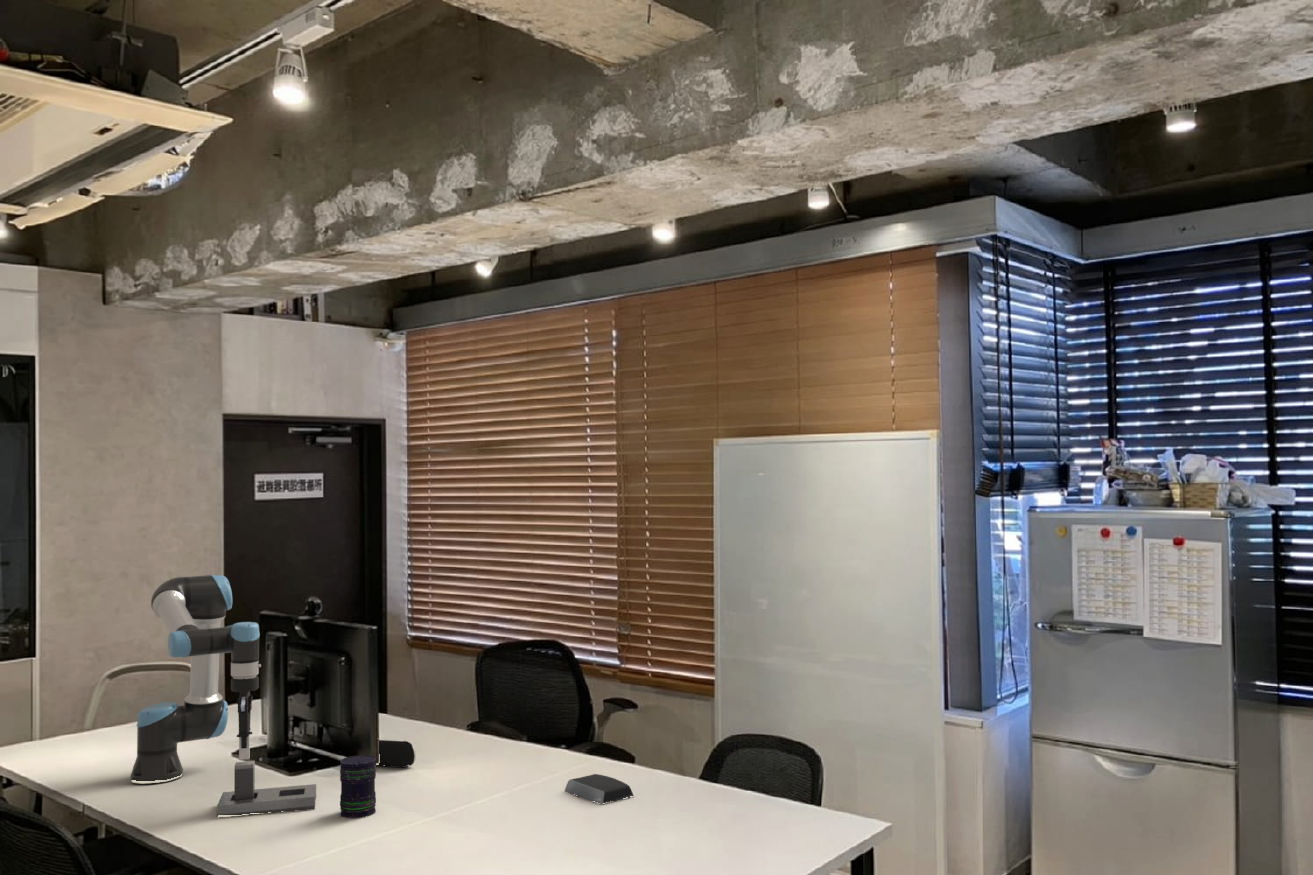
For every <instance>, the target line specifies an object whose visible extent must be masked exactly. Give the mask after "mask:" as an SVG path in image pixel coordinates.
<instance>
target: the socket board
mask: <svg viewBox="0 0 1313 875" xmlns="http://www.w3.org/2000/svg"><path fill="white" fill-rule="evenodd" d="M316 799H317V784H316V783H314V784H312V783H311V784H302V785H291V786H280V787H268V788H255V791H254V799H247V800H236V801H234V790H233V791H223V792H222V794H221V796H220V798H219V801H218V803H217V805H216V809H217V810H216V817H217V816H218V815H242V814H250V813H268V812H280V813H282V812H281V811H290V812H296V811H295V810H301V811H308V810H307V809H312V810H315V808H316V802H317V801H316ZM315 801H316V802H315Z"/></svg>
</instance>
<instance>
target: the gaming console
mask: <svg viewBox="0 0 1313 875" xmlns="http://www.w3.org/2000/svg"><path fill="white" fill-rule="evenodd" d="M378 739H379V754H380V763H379V766H378V767H382V766H381V765H385V766H384V767H388V766H409V767H411V766H413V765H414V763H416V762H415V761H416V759H417V750H416V748H415V745H414V744H413V743H412V742H409V741H407V740H404V739H392V738H391V739H389V738H388V739H387V738H378Z"/></svg>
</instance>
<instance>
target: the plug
mask: <svg viewBox="0 0 1313 875" xmlns="http://www.w3.org/2000/svg"><path fill="white" fill-rule="evenodd" d="M255 766H256V765H255V760H247V761H244V760H243V761H236V762H235V764H234V782H233V783H234V785H233V786H234V790H233V791H234V801H236V800H247V799H254V791H255V789H256V788H255V787H256V786H255V782H256V781H255V780H256V778H255V777H256V776H255V774H256V773H255V772H256V771H255V770H256V769H255Z"/></svg>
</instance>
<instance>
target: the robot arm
mask: <svg viewBox="0 0 1313 875" xmlns="http://www.w3.org/2000/svg"><path fill="white" fill-rule="evenodd" d="M230 584H231V583H230V581H229V579H228V578H227V577H226V576H224V575H220V574H219V575H218V574H217V575H215V574H214V575H213V574H209V575H208V574H207V575H194V576H178V577H173V578H170V579H167V580H166V581H164V582H163V583H161V584H160V585H159V586H157V588H156V589H155V590H154V592H153V593H152V596H151V600H150V606H151V609H152V612H153V613H154V615H155V616H157V617H158V618H159V619H161V621H162V622H163V624H164V626H165V628H166V630H167V632H168V633H169V634H168V637H167V651H168V655H169V656H170V657H171V658H187V657H189V658H190V678H189V694H188V695H187V696H185V698H184V703H183V705H182V704H181V705H178V703H177V702H176V701H167V702H166V701H165V702H159V703H155V704H152V705H149V706H146V707H144V708H142V709H141V710H140V711H139V712H138V714H137V723H136V729H137V731H136V732H137V733H136V735H137V737H136V738H137V739H136V742H137V743H136V744H137V745H136V746H137V747H136V750H137V751H136V759H135V762H134V764H133V768H132V770H131V772H130V781H131V780H136V781H155V780H167V779H171V778H174V777H177V776H180V775H181V774H182V773H183V774H184V772H183V771H184V768H183V766H182V763H181V760H180V757H179V754H178V743H185V742H192V741H193V742H194V741H198V740H209V739H213V738H218V737H220V736H221V735H222V734H224V732H225V731H226V729H227V728H226V727H227V724H228V719H229V711H228V710H229V705H228V702H227V701H226V700H223V699H224V698H223V695H221V693H219V676H220V675H219V674H220V671H219V670H220V654H229V653H231V654H230V656H231V661H230V676H231V679H230V690H231V691H232V692H234V693H239V696H237V698H236V705H237V714H238V715H237V716H238V734H236V738H238V742H239V743H238V759H239V761H240V760H242V761H244V760H250V755H251V754H250V745H251V744H250V743H251V742H250V740H251V739H250V738H251V737H250V736H251V735H253V731H251V717H252V716H251V715H252V714H251V712H252V708H253V707H252V706H253V705H252V702H253V699H254V698H253V695H251V692H254V691H257V690H258V689H259V688H260V684H259V683H260V677H259V676H258V675H259V673H260V672H259V670H260V669H259V668H261V667H262V664H261V663H259V662H260V660H259V659H260V635H261V633H260V626H259V623H258V622H255V621H253V622H252V621H241V622H236V623H233V624H230V625H227V626H224V627H223V626H222V627H221V622H222V621H223V620H224V619H225V618H226V617H227V616H226V615H227V611H229V610H231V609H232V607H233V592H232V588H231V585H230Z"/></svg>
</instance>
